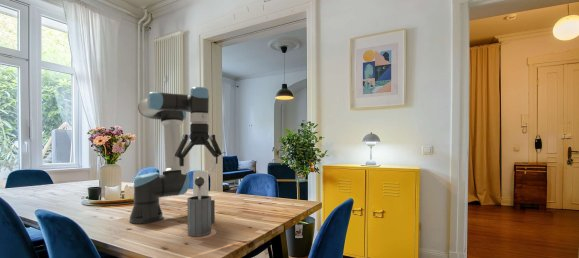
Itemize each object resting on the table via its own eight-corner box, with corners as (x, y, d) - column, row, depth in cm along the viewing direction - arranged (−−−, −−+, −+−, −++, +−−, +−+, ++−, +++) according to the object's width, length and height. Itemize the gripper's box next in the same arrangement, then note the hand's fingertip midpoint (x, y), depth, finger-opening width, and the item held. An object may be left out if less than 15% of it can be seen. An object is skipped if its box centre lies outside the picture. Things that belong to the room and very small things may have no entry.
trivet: (176, 235, 120) (176, 233, 120) (206, 227, 130) (206, 226, 130) (190, 243, 110) (190, 241, 110) (222, 234, 120) (222, 233, 120)
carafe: (183, 233, 120) (183, 197, 121) (208, 227, 128) (208, 194, 129) (193, 238, 113) (193, 201, 114) (219, 232, 121) (219, 196, 122)
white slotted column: (204, 225, 134) (204, 172, 136) (190, 224, 136) (190, 171, 137) (211, 220, 141) (211, 170, 143) (198, 220, 143) (198, 170, 144)
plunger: (189, 222, 120) (189, 177, 121) (202, 219, 125) (202, 175, 125) (196, 225, 116) (196, 178, 117) (209, 222, 120) (209, 176, 121)
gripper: (173, 121, 111) (173, 176, 110) (229, 123, 128) (229, 171, 127) (166, 122, 116) (166, 174, 116) (220, 124, 134) (220, 169, 133)
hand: (199, 172), depth 122 cm, fingers open, 13 cm apart
